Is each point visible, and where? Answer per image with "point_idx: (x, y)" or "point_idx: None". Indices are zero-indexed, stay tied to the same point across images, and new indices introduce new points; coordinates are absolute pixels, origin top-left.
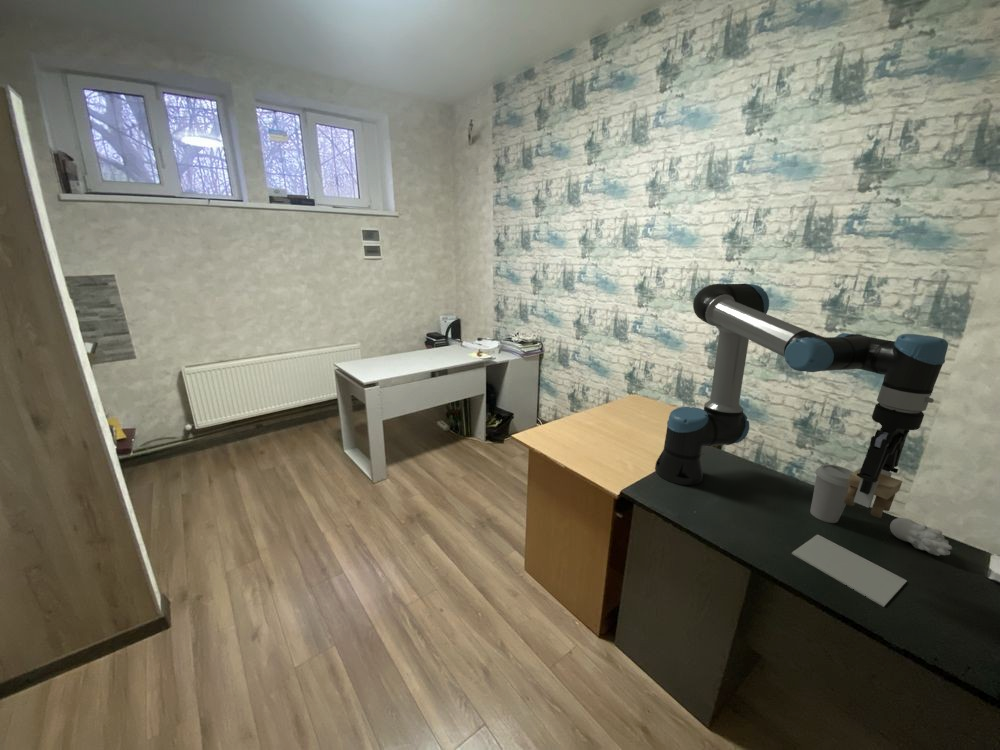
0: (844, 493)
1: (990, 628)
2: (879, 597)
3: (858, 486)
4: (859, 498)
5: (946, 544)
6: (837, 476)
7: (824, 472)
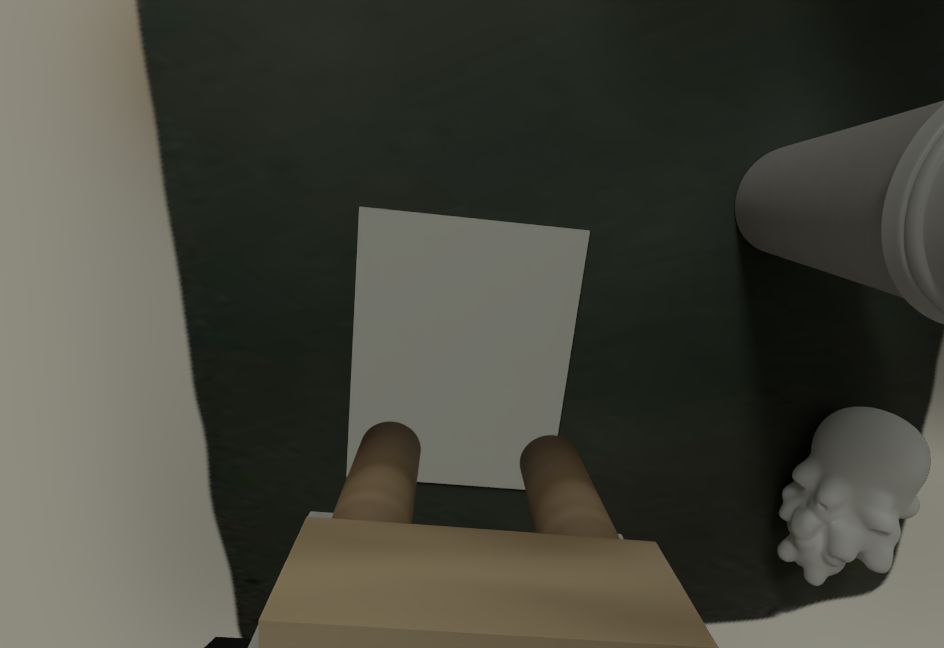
0: (868, 277)
1: None
2: None
3: (255, 636)
4: None
5: (818, 575)
6: None
7: None
